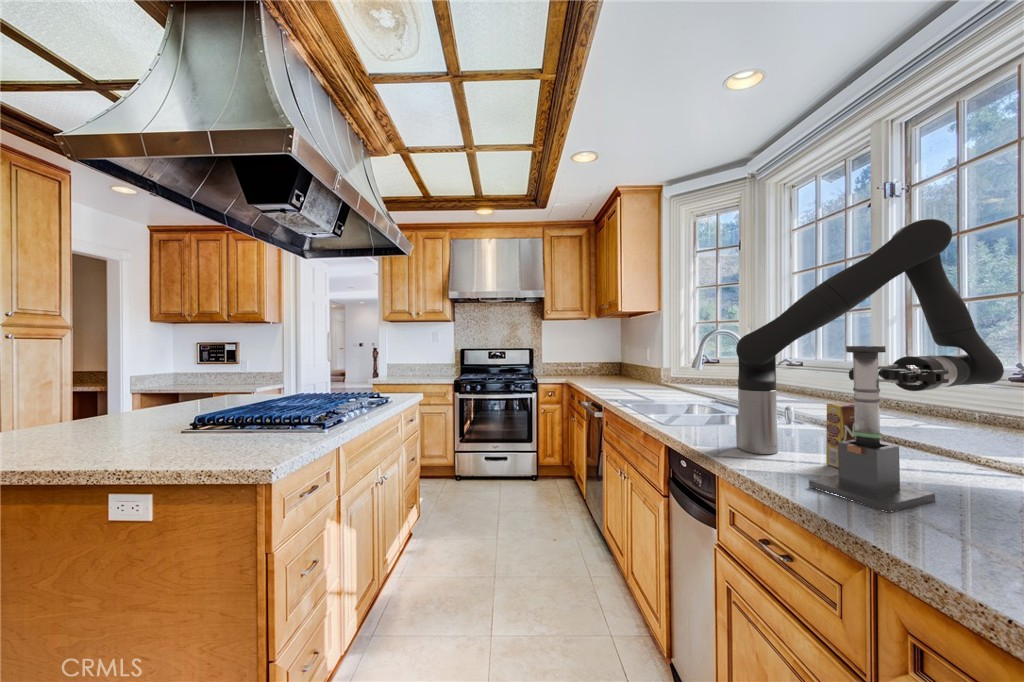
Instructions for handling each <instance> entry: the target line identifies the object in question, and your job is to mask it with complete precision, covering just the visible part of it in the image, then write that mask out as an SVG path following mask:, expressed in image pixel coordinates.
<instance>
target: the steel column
mask: <svg viewBox="0 0 1024 682" xmlns="http://www.w3.org/2000/svg"><path fill="white" fill-rule="evenodd" d="M886 351H887V350H886V346H885V345H846V346H845V352H846V353H851V354H852V363H853V365H852V366H853V367H852V368H853V369H854V380H853V387H852V391H853V399H852V401H853V403H854V409H855V430H854V436H855V445H860V446H865V447H869V448H880V443H881V439H882V433H881V417H880V413H881V412H880V410H881V409H880V403H881V398H880V393H881V388H880V382H879V379H880V375H879V371H880V369H879V370H878V366H879V353H886Z"/></svg>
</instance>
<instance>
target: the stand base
mask: <svg viewBox="0 0 1024 682" xmlns="http://www.w3.org/2000/svg"><path fill="white" fill-rule="evenodd" d="M838 465H839V468H838V474H836V475H829V476H824V477H819V478H814V479H809V480H808V487H809V486H810V487H813V488H817V489H820V490H823V491H827V492H829V493H833V494H837V495H839V496H842V497H845V498H847V499H850V500H853V501H855V502H854V503H856V502H859V503H862V504H865V505H868V506H871V507H870V508H872V507H874V508H873V509H875V508H877V509H876V510H878V509H880V510H879V511H881V510H884V511H887V512H891V511H895V512H897V511H896V510H899V511H902V510H901V509H903V510H905V509H906V508H907V509H910V508H914V507H918V506H919V507H920V506H922V505H926V504H930V503H934V502H936V493H935V492H933V491H932V492H931V491H928V490H923V489H920V488H916V487H912V486H908V485H905V484H901V477H900V470H901V469H900V468H901V467H900V466H901V465H900V446H899V445H898V446H897V445H893V444H889V443H883V442H880V448H869V447H865V446H860V445H855V440H849V441H843V442H838ZM810 487H809V488H810ZM813 488H812V489H813ZM847 499H846V500H847ZM850 500H849V501H850ZM853 501H852V502H853ZM859 503H858V504H859ZM862 504H861V505H862ZM865 505H864V506H865ZM868 506H867V507H868ZM907 509H906V510H907ZM884 511H883V512H884ZM887 512H886V513H887ZM891 513H892V512H891Z"/></svg>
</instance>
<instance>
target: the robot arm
mask: <svg viewBox="0 0 1024 682" xmlns="http://www.w3.org/2000/svg"><path fill="white" fill-rule="evenodd" d="M952 237H953V230H952V227H951V225H949V223H947V222H946V221H944V220H941V219H939V218H938V219H937V218H924V219H922V218H921V219H919V220H915V221H912V222H909V223H908V224H906V225H905V226H903V227H901V228H899V229H898V230H897V231H896V232H895V233H894V234H893V235H892V237H891V238H890V240H888V241H887V242H886V243H884V244H883V245H882V246H880V247H879V248H878V249H877V250H875V251H873V253H872V254H870V255H868V256H867V257H865V258H864V259H862V260H860V261H858V262H856V263H854V264H851V265H850V266H848V267H847V268H844V269H843V270H841V271H839V272H837V273H836V274H834V275H832V276H830V277H829V278H827V279H825V280H824V281H822V282H821V283H820V284H818V285H817V286H815V287H814V288H813V289H811V290H809V291H808V292H806V293H805V294H804V295H803V296H802V297H801V298H798V300H796V301H795V302H794V303H792V305H790V306H789V307H788V308H787V309H786V310H784V312H782V313H781V314H780V315H779V316H777V317H775V318H774V319H773V320H771V321H769V322H767V323H766V324H765V325H763V326H761V327H759V328H757V329H755V330H754V331H752V332H751V331H750V332H749V333H747V334H745V335H743V336H742V337H741V338H740V339H739V340H738V342H737V344H736V350H735V351H736V354H737V357H738V358H737V359H738V375H737V376H738V377H737V388H738V389H737V390H738V396H737V398H738V413H737V414H735V433H736V435H735V437H736V443H735V444H736V448H738V449H740V450H741V451H744V452H747V453H752V454H758V455H759V454H760V455H774V454H777V453H778V452H779V451H778V450H779V449H778V446H779V445H778V415H777V414H778V412H777V409H778V408H777V407H778V406H777V405H778V404H777V365H776V364H777V363H776V362H777V361H776V359H777V357H776V355H778V354H779V353H780V352H781V351H783V350H784V349H785V348H786V347H787V348H788V346H790V345H791V344H792V343H794V342H795V341H797V340H799V339H800V338H801V337H804V336H805V335H808V334H809V333H812V332H814V331H817V330H818V329H820V328H822V327H823V326H825V325H827V324H830V323H831V322H833V321H835V320H837V319H839V318H840V317H841V316H843V315H845V314H846V313H847V312H849V311H851V310H852V309H853V308H855V307H857V306H858V305H859V304H861V303H862V302H863V301H865V300H866V299H868V298H869V297H871V296H872V295H873V294H875V293H876V292H877V291H879V290H880V289H881V288H883V286H885V285H886V284H888V283H889V282H890V281H892V280H893V279H895V278H897V277H898V276H899V275H902V274H903V273H905V275H906V276H907V278H908V280H909V282H910V283H911V286H912V288H913V290H914V292H915V295H916V297H917V299H918V302H919V304H920V307H921V310H922V313H923V315H924V318H925V321H926V324H927V326H928V329H929V331H930V333H931V337H932V339H933V342H934V343H935V344H936V345H937V346H938V347H947V348H949V347H950V348H951V347H952V348H959V349H960V350H962V351H964V352H965V353H964V354H963V353H962V354H953V355H945V354H944V355H943V354H942V355H932V354H926V355H925V354H924V355H907V356H903V357H900V358H898V359H897V360H895V361H894V362H893V363H892V364H887V365H878V370H879V383H889V384H895V386H897V387H899V388H901V389H902V390H905V391H909V392H922V391H933V390H938V389H942V388H948V387H955V386H969V385H984V384H986V385H987V384H993V383H997V382H999V381H1001V379H1002V378H1003V377H1004V376H1003V375H1004V373H1005V368H1004V365H1003V363H1002V361H1001V360H1000V359H999V357H998V356H997V355H996V353H994V351H993V350H992V349H991V347H989V346H988V345H987V343H986V342H985V341H984V339H983V338H982V337H981V336H980V334H979V333H978V331H977V329H976V327H975V324H974V321H973V319H972V316H971V314H970V311H969V309H968V307H967V305H966V303H965V302H964V300H963V298H962V297H961V296H960V294H959V292H958V291H957V289H955V287H954V285H953V284H952V283H951V282H950V280H949V277H948V275H947V274H946V271H945V268H944V267H943V263H942V258H941V253H943V252H944V251H945V250H946V249H947V248H948V246H949V245H950V244H951V241H952ZM848 378H849V379H850V381H854V369H853V367H851V369H850V370H849V371H848Z"/></svg>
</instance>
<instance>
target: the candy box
mask: <svg viewBox="0 0 1024 682" xmlns="http://www.w3.org/2000/svg"><path fill="white" fill-rule="evenodd" d="M854 430H855V409H854V402H848V403H847V402H845V403H826V438H825V439H826V441H825V442H826V450H825V451H826V454H825V455H826V457H825V458H826V459H825V460H826V461H825V463H826V465H828V466H830V467H834V468H837V469H839V465H838V442H843V441H849V440H855V436H854Z"/></svg>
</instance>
